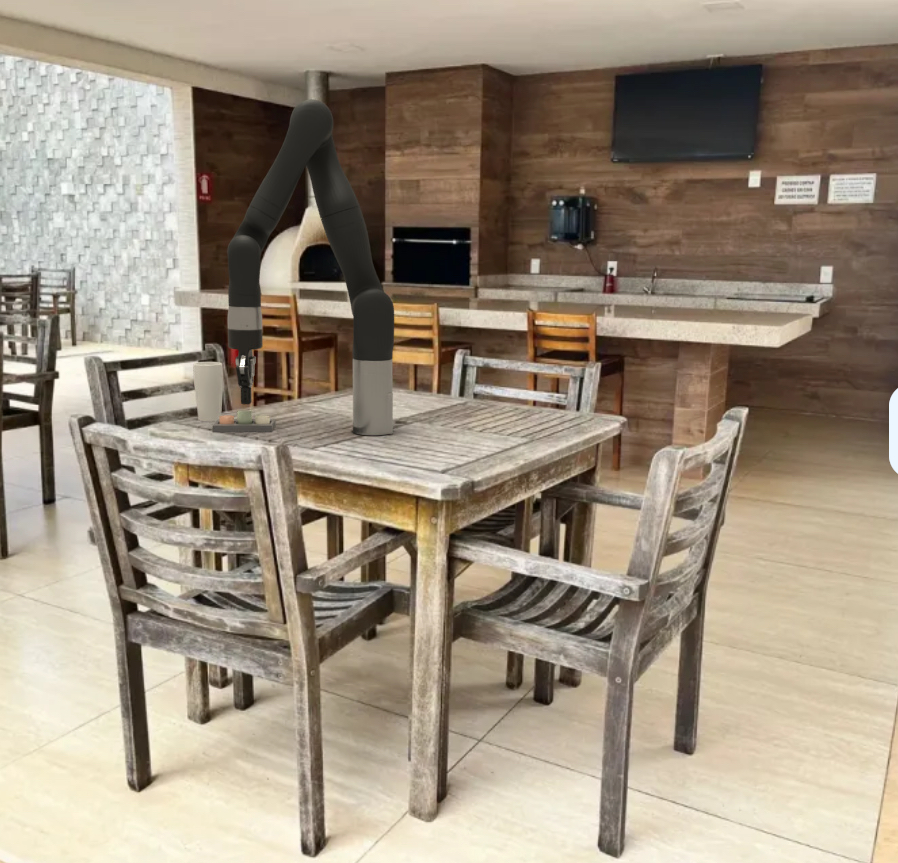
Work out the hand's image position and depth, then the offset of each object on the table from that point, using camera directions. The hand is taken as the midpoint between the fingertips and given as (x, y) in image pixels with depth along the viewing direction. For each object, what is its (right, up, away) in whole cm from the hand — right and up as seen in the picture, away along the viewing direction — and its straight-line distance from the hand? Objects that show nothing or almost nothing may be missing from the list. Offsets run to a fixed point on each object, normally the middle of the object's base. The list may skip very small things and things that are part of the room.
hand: (246, 403), depth 202 cm
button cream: (+3, -7, +2) cm, 8 cm away
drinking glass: (-12, -5, +13) cm, 18 cm away
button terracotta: (-5, -7, +1) cm, 8 cm away
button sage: (-1, -6, +1) cm, 6 cm away
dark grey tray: (-1, -7, +1) cm, 7 cm away
